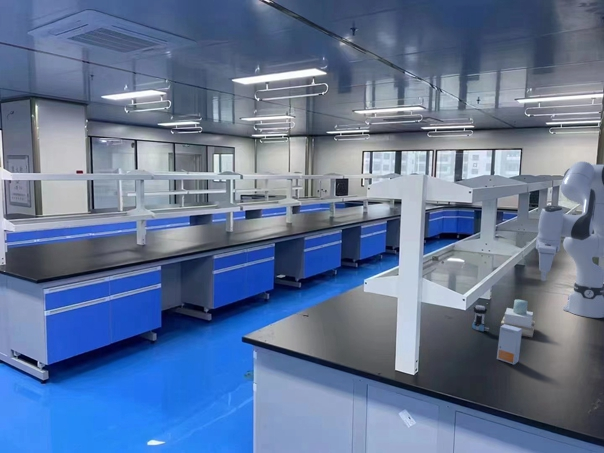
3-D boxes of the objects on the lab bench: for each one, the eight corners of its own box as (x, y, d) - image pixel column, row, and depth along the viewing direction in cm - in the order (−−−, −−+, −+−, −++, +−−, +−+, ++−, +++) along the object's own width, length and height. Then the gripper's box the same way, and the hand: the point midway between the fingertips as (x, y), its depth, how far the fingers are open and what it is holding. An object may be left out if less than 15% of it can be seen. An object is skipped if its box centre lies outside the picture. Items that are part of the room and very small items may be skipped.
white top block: (506, 316, 192) (507, 307, 192) (532, 321, 187) (532, 312, 187) (504, 323, 184) (504, 313, 183) (531, 328, 179) (532, 318, 178)
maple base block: (503, 324, 194) (504, 315, 194) (534, 330, 188) (535, 321, 188) (499, 332, 184) (500, 322, 184) (532, 338, 178) (533, 329, 178)
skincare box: (496, 359, 154) (499, 326, 153) (501, 356, 157) (504, 323, 156) (514, 365, 150) (517, 331, 149) (519, 361, 153) (522, 328, 152)
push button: (490, 330, 184) (492, 307, 183) (486, 333, 180) (488, 309, 179) (474, 326, 188) (476, 303, 187) (469, 329, 184) (471, 306, 183)
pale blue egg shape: (513, 310, 189) (515, 298, 188) (526, 312, 186) (528, 301, 185) (512, 312, 184) (513, 301, 184) (525, 315, 182) (527, 303, 181)
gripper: (540, 240, 194) (536, 271, 196) (538, 248, 176) (534, 282, 179) (557, 242, 191) (553, 273, 193) (556, 250, 173) (551, 284, 175)
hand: (543, 277), depth 186 cm, fingers open, 8 cm apart
